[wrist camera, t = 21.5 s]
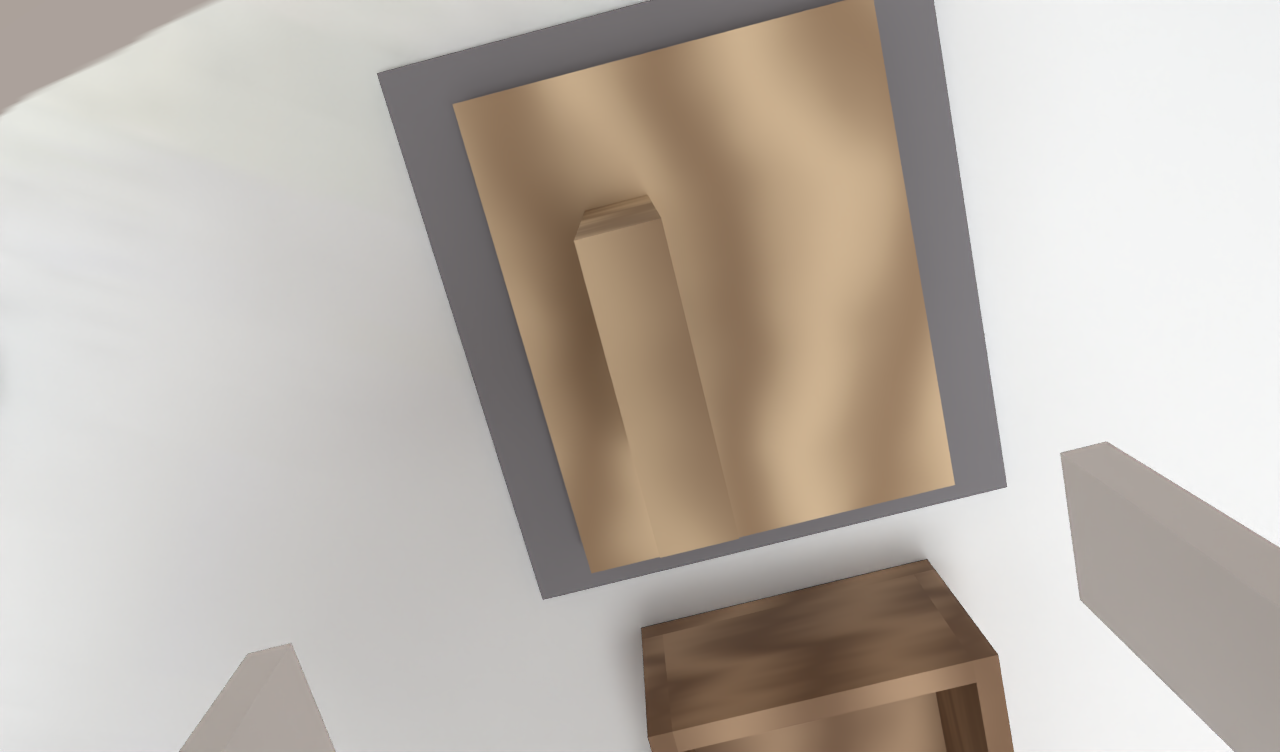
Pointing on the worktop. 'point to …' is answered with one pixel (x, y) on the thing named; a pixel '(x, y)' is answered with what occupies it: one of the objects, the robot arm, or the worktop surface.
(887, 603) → the open wooden box
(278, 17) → the worktop surface
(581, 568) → the mat
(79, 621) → the worktop surface
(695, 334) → the lid
